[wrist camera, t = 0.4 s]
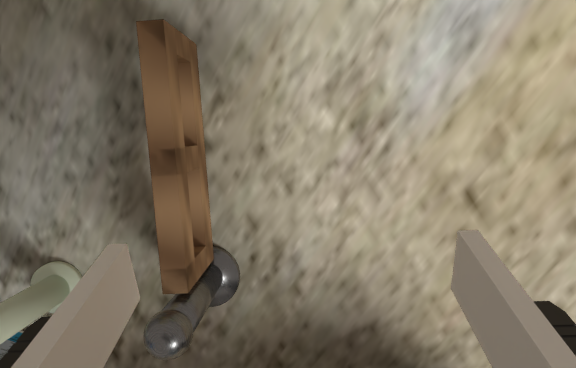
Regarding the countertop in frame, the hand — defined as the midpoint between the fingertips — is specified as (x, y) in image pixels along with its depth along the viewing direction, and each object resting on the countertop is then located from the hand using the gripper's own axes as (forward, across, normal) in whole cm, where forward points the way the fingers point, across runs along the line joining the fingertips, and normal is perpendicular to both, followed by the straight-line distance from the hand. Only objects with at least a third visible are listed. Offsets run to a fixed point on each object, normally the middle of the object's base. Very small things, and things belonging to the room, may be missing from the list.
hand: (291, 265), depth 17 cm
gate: (+16, +8, +1) cm, 18 cm away
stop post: (+14, +21, +11) cm, 28 cm away
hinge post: (+14, +8, +11) cm, 20 cm away
